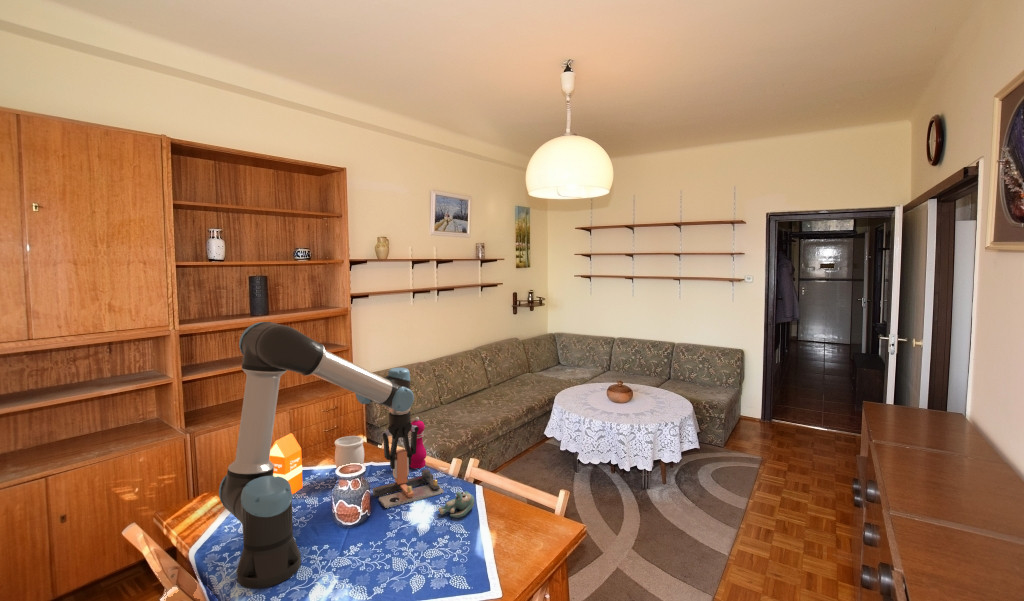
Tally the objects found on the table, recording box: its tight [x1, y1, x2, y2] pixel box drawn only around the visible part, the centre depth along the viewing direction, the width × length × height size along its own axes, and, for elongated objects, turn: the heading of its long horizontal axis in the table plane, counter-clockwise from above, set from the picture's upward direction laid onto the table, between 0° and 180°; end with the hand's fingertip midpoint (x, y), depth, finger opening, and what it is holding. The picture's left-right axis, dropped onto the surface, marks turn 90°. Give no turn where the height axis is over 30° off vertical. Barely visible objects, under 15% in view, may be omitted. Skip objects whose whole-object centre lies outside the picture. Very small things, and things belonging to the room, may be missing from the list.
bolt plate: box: [378, 484, 444, 509], centre depth 169 cm, size 7×21×1 cm, turn 123°
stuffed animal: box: [438, 490, 475, 519], centre depth 159 cm, size 11×7×12 cm
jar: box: [334, 435, 365, 469], centre depth 182 cm, size 11×10×15 cm
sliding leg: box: [394, 448, 414, 497], centre depth 171 cm, size 12×4×13 cm, turn 33°
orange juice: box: [269, 432, 303, 495], centre depth 172 cm, size 8×9×20 cm
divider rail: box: [372, 468, 440, 498], centre depth 172 cm, size 11×22×4 cm, turn 123°
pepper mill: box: [409, 416, 427, 470], centre depth 194 cm, size 7×7×20 cm
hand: (400, 475), depth 174 cm, fingers closed on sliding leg, 3 cm apart
